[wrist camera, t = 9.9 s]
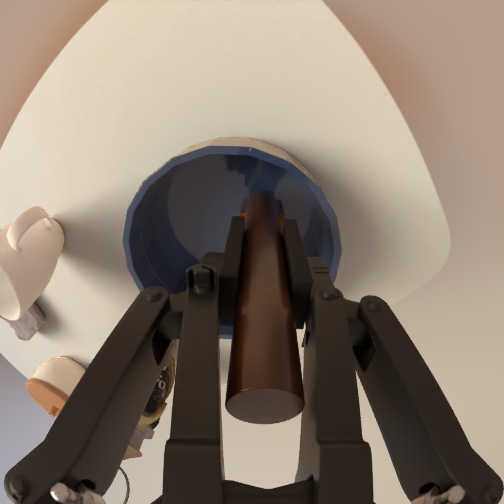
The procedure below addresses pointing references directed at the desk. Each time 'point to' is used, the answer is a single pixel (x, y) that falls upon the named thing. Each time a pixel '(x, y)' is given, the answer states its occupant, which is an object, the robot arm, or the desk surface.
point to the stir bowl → (219, 209)
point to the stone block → (28, 323)
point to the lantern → (151, 412)
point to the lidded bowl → (54, 383)
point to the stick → (264, 325)
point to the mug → (27, 260)
